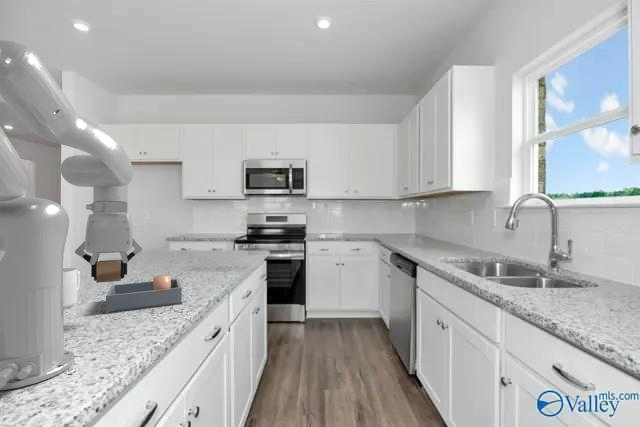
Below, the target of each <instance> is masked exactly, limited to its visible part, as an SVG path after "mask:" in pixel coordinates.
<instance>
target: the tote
mask: <svg viewBox="0 0 640 427" xmlns="http://www.w3.org/2000/svg"><path fill="white" fill-rule="evenodd" d="M182 290H183V289H182V286H181V282H180V279H179V278H173V279H172V278H171V288H170V289H161V290H153V281H152V280H151V281H141V282H130V283H121V284H112V285H111V286H110V288H109V290H108V292H107V294H106V295H105V314H106V313H108V314H114V313H113V312H115V313H123V312H129V311H130V310H131V311H136V310H143V309H144V310H146V309H152V308H160V307H167V306H175V305H182V303H183V302H182V300H183V299H182V296H183V294H182V292H183V291H182ZM122 311H123V312H122Z"/></svg>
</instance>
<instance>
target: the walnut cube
mask: <svg viewBox="0 0 640 427" xmlns="http://www.w3.org/2000/svg"><path fill="white" fill-rule="evenodd" d="M121 261H122V259H108V260H107V259H105V260H98V262H97V273H96V281H95V282H96V283H110V282H112V283H113V282H120V281H122V279H121V278H120V271H121Z"/></svg>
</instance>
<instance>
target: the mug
mask: <svg viewBox="0 0 640 427" xmlns="http://www.w3.org/2000/svg"><path fill="white" fill-rule="evenodd" d="M80 272H81V271H80V270H78V268H75V267H63V310H66V309H71V308H73V307H74V306H76V304H77V303H78V301H79V296H78V295H79V293H78V292H79V291H78V290H79V289H80V276H81V275H80V274H81V273H80Z"/></svg>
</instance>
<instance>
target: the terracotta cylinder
mask: <svg viewBox="0 0 640 427" xmlns="http://www.w3.org/2000/svg"><path fill="white" fill-rule="evenodd" d="M152 279H153V290H161V289H170V288H171V279H172V277H171V275H169V274H163V275H156V276H153V277H152Z"/></svg>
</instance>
